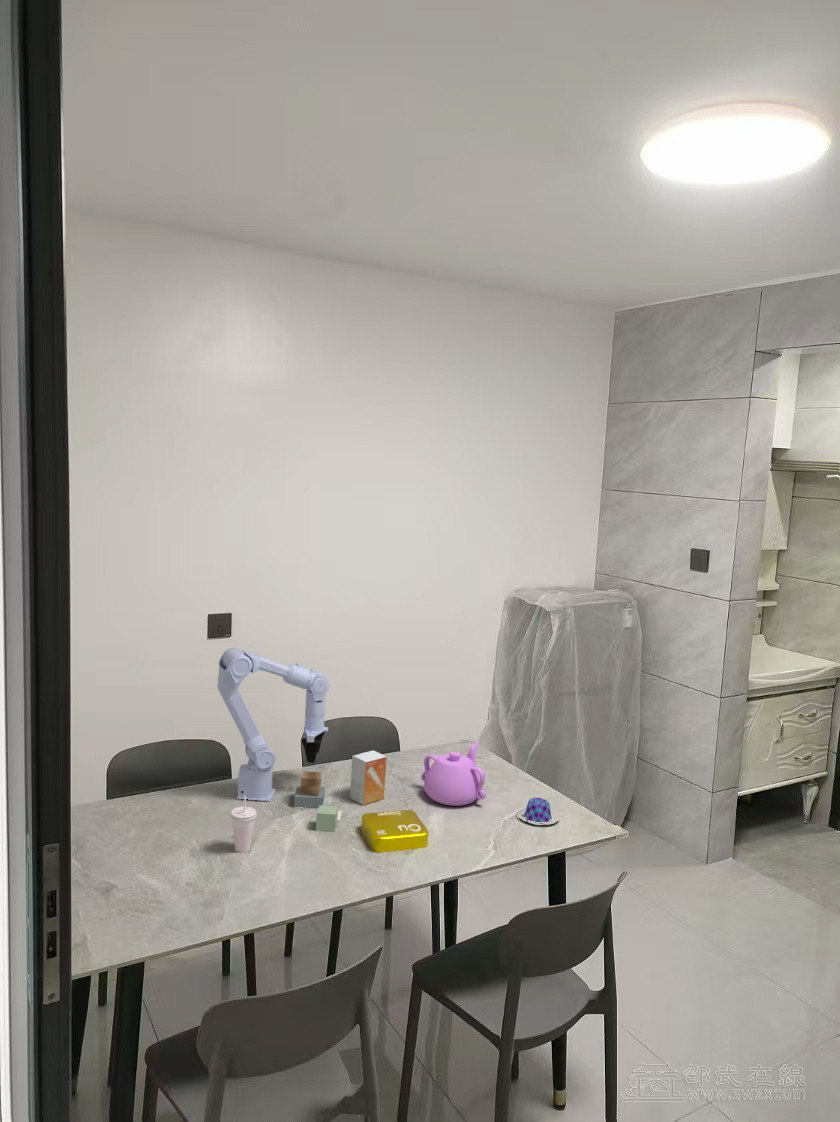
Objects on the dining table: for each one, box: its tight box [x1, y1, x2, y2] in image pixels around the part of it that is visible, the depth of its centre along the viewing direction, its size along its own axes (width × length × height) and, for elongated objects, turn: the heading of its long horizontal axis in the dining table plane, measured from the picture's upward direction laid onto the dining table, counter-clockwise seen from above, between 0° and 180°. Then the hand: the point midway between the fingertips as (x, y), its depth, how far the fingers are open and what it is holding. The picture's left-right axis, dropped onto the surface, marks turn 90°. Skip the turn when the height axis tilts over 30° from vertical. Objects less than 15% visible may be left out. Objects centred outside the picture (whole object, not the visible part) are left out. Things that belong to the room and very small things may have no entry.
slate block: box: [293, 785, 326, 809], centre depth 239 cm, size 8×8×4 cm
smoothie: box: [230, 796, 258, 853], centre depth 209 cm, size 6×6×14 cm
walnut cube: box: [300, 770, 322, 796], centre depth 238 cm, size 5×5×5 cm
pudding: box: [516, 797, 553, 822], centre depth 237 cm, size 12×12×5 cm
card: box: [337, 810, 343, 822], centre depth 231 cm, size 6×6×1 cm
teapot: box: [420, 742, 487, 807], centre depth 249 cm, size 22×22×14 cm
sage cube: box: [315, 804, 339, 833], centre depth 224 cm, size 5×5×5 cm
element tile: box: [360, 809, 429, 854], centre depth 220 cm, size 15×15×5 cm
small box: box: [349, 749, 388, 806], centre depth 243 cm, size 8×6×13 cm
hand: (313, 757), depth 248 cm, fingers open, 7 cm apart
